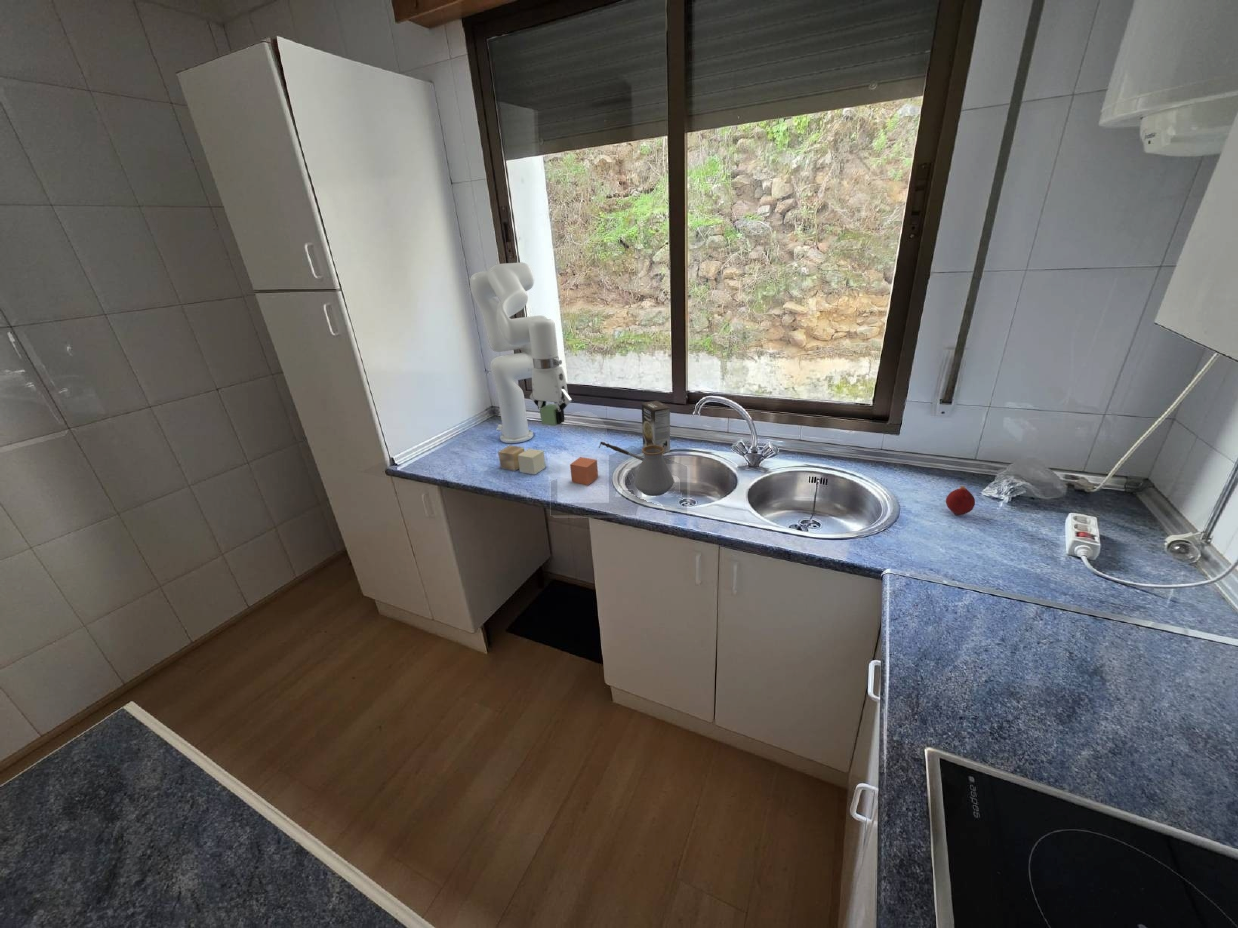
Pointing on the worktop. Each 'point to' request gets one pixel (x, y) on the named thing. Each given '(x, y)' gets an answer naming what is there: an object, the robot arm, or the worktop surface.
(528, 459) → the block
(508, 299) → the robot arm
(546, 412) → the green block
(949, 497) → the onion
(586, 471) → the block
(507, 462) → the block
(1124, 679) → the worktop surface
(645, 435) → the coffee box
